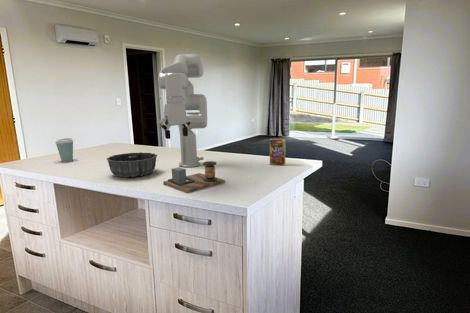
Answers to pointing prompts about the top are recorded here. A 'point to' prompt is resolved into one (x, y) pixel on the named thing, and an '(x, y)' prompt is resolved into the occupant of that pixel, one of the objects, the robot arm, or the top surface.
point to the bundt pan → (132, 164)
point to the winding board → (197, 180)
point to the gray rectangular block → (179, 175)
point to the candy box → (277, 151)
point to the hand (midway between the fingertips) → (176, 137)
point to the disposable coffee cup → (65, 149)
